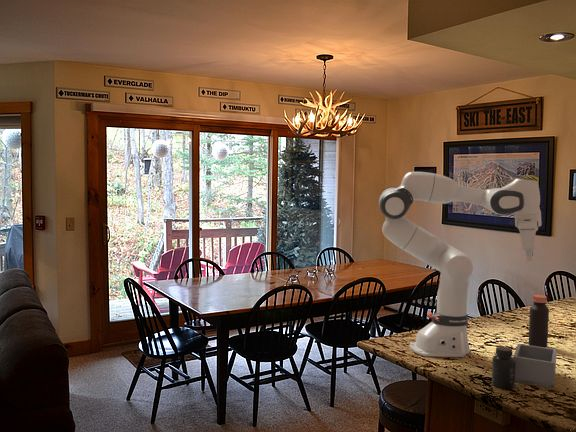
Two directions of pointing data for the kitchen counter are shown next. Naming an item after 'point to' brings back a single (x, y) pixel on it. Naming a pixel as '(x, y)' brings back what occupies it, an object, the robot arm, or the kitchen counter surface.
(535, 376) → the walled bin
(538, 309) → the vinegar
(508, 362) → the supplement bottle
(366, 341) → the kitchen counter surface
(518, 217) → the robot arm
